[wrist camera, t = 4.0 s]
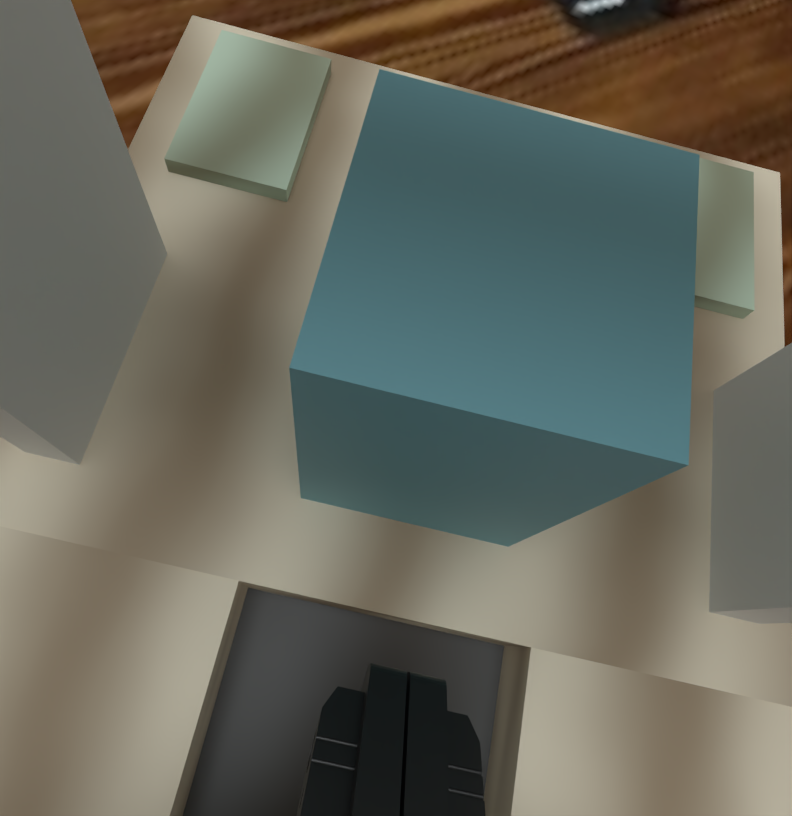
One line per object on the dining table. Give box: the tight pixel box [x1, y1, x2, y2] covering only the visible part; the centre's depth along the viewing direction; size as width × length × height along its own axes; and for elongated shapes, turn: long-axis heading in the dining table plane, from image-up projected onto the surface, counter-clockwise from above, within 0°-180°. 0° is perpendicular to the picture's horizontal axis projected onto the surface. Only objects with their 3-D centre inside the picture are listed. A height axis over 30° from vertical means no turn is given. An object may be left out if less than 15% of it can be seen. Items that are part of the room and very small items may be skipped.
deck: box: [0, 15, 792, 816], centre depth 19 cm, size 23×28×4 cm
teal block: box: [289, 69, 700, 547], centre depth 14 cm, size 6×6×9 cm
